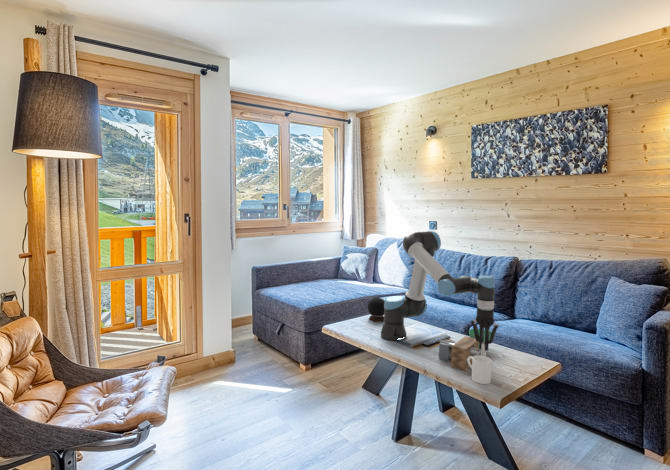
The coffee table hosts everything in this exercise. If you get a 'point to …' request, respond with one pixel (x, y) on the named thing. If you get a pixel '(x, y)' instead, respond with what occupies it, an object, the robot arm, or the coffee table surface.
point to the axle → (473, 350)
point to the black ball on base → (376, 309)
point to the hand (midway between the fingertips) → (483, 356)
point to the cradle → (445, 351)
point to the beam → (463, 352)
